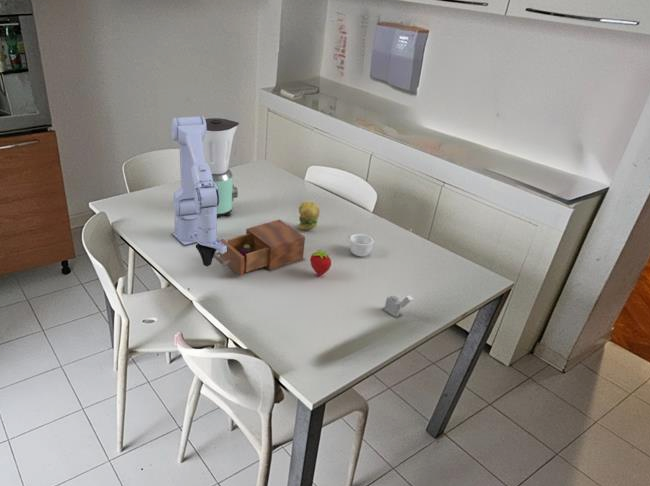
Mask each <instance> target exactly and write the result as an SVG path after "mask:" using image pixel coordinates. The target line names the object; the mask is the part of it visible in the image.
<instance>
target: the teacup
mask: <svg viewBox="0 0 650 486" xmlns="http://www.w3.org/2000/svg"><path fill="white" fill-rule="evenodd" d="M346 241H347V242H348V244H349V251H350V252H351V254H353V255H354V256H356V257H361V258H362V257H366V256H368V255H369V254H370V253H371V252H372V250H373V247H374V238H372V237H371V236H370V235H367V234H363V233H354V234H352V235H348V236H347V237H346Z"/></svg>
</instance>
